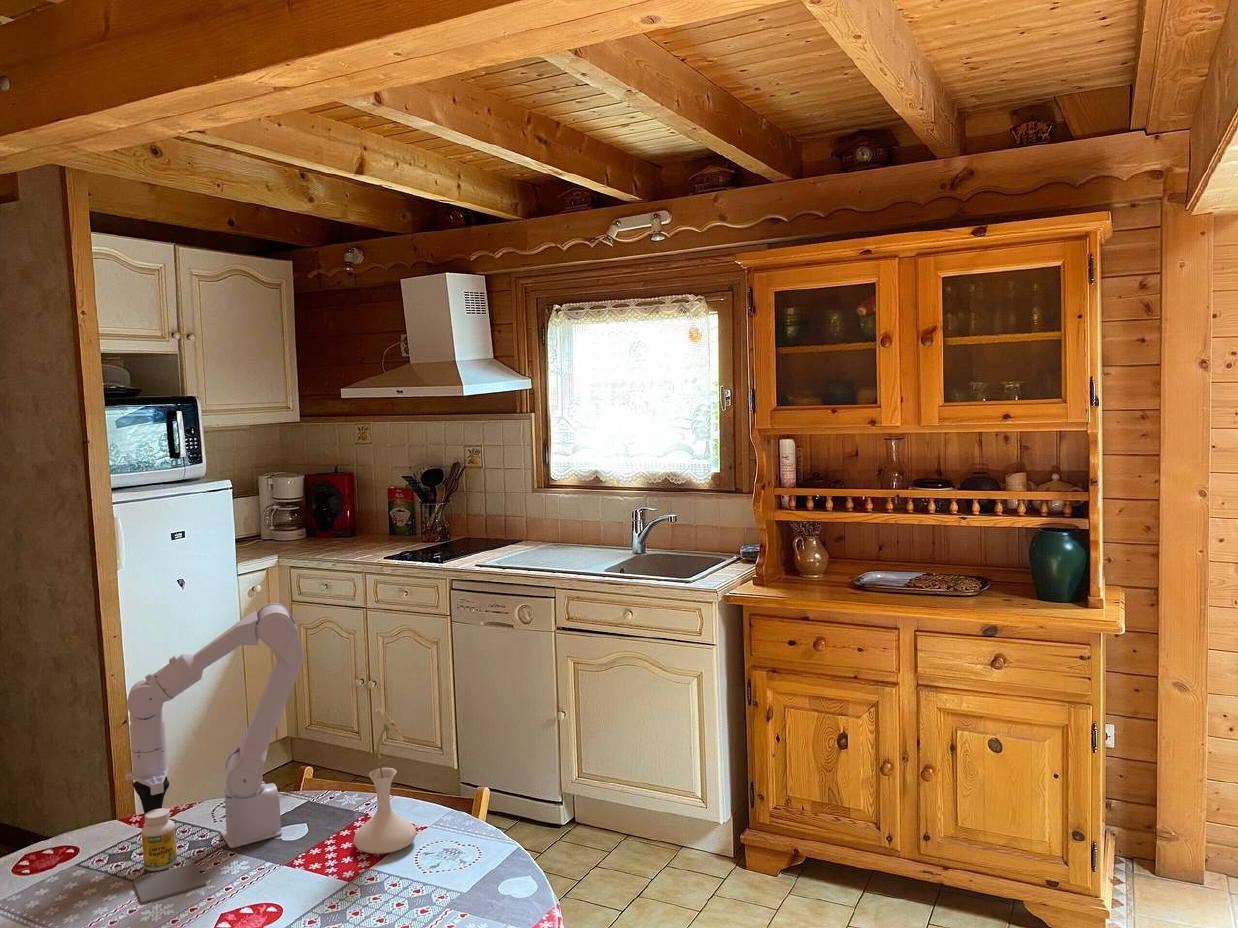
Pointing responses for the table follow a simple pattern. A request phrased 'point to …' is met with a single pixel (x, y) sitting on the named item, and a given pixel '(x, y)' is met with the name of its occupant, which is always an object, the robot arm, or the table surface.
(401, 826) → the flower in vase
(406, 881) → the table surface
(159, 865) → the supplement bottle
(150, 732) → the robot arm
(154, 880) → the mat
